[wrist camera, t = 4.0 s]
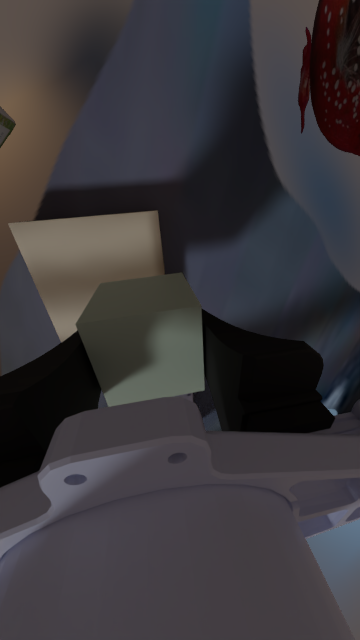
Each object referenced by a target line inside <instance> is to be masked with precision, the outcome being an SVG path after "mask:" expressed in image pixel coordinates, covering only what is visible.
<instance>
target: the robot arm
mask: <svg viewBox="0 0 360 640" xmlns="http://www.w3.org/2000/svg"><path fill="white" fill-rule="evenodd" d="M201 310H202V335H203V361H204V374H205V377H206V379H207V382H208V385H209V388H210V391H211V394H212V398H213V401H214V404H215V408H216V411H217V415H218V418H219V422H220V426H221V429H222V431H206V430H205V427H204V423H203V420H202V416H201V413H200V411H199V409H198V407H197V404H196V403H193V393H188V394H183V395H177V396H172V397H162V398H156V399H151V400H145V401H139V402H133V403H128V404H122V405H116V406H111V407H105V408H99V409H98V402H99V397H100V393H101V387H100V384H99V382H98V379H97V377H96V374H95V372H94V369H93V367H92V364H91V362H90V359H89V357H88V354H87V352H86V349H85V347H84V344H83V342H82V339H81V337H80V334H79V332H78V330H77V331H76V332H75V333H73V334H72V335H71V336H70V337H68V338H67V339H66V340H64V341H63V342H61V343H60V344H59V345H57V346H56V347H55V348H53V349H52V350H50V351H48V352H47V353H45V354H44V355H42V356H40V357H38V358H37V359H35V360H33V361H31V362H29V363H27V364H25V365H24V366H22V367H20V368H18V369H16V370H14V371H12V372H9V373H7V374H5V375H3V376H0V640H355V639H354V637H353V635H352V632H351V630H350V628H349V626H348V624H347V622H346V620H345V618H344V616H343V614H342V612H341V610H340V608H339V606H338V604H337V602H336V600H335V598H334V596H333V594H332V592H331V590H330V588H329V586H328V584H327V582H326V580H325V578H324V576H323V574H322V572H321V570H320V567H319V566H318V563H317V562H316V560H315V558H314V555H313V553H312V551H311V549H310V547H309V545H308V543H307V541H306V539H307V538H309V537H312V536H315V535H317V534H320V533H323V532H325V531H329V530H331V529H334V528H337V527H339V526H342V525H344V524H347V523H350V522H353V521H355V520H358V519H360V400H358V401H357V402H356V403H355V405H354V406H353V409H352V412H350V413H345V414H340V415H336V416H333V415H332V414H331V413H330V411H329V410H328V409H327V408H326V407H325V406H324V405H323V404H322V403H321V402H320V401H321V400H322V396H321V395H320V394H319V393H318V392H317V391H316V387H317V384H318V382H319V379H320V377H321V374H322V370H323V366H324V365H323V359H322V357H321V356H320V354H319V353H317V352H316V351H315V350H314V349H313V348H311V347H310V346H309V345H308V344H307V343H305V342H304V341H296V340H287V339H279V338H274V337H268V336H264V335H260V334H256V333H252V332H249V331H246V330H243V329H240V328H238V327H235V326H233V325H230V324H228V323H226V322H224V321H222V320H220V319H218V318H217V317H215V316H213V315H212V314H210V313H208V312H207V311H205V310H203V309H202V308H201Z"/></svg>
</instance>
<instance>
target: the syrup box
mask: <svg viewBox="0 0 360 640" xmlns="http://www.w3.org/2000/svg"><path fill="white" fill-rule="evenodd" d="M15 125H16V124H15V121H14V120H13V119H12V118H11V117H10V116H9V115H8V114H7V113H6V112H5V111H4V110H3V109H2V108H1V107H0V148H1V146H2V145H3V143H4V142H5V140H6V139H7V137H8V136H9V135H10V133H11V132H12V130H13V128H14V127H15Z"/></svg>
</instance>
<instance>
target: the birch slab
mask: <svg viewBox="0 0 360 640" xmlns="http://www.w3.org/2000/svg"><path fill="white" fill-rule="evenodd" d="M9 227H10V229H11V231H12V233H13V236H14V238H15V240H16V242H17V244H18V247H19V249H20V251H21V254H22V256H23V258H24V260H25V262H26V265H27V267H28V269H29V271H30V274H31V276H32V278H33V280H34V283H35V285H36V287H37V289H38V291H39V294H40V296H41V298H42V300H43V303H44V305H45V307H46V309H47V311H48V314H49V316H50V318H51V320H52V323H53V325H54V327H55V329H56V332H57V334H58V336H59V338H60V340H61V342H63V341H64V340H66V339H67V338H68V337H70V336H71V335H72V334H73V333H75V332H76V331H77V327H76V325H75V324H76V322H77V321H78V319H79V317H80V316H81V314H82V312H83V311H84V309H85V308H86V306H87V304H88V303H89V301H90V299H91V298H92V296H93V294H94V293H95V291H96V289H97V288H98V286H99V284H100V283H105V282H113V281H121V280H128V279H136V278H143V277H151V276H159V275H165V271H164V262H163V253H162V244H161V235H160V226H159V218H158V211H156V210H154V211H143V212H131V213H119V214H108V215H96V216H85V217H73V218H61V219H50V220H38V221H27V222H18V223H9Z"/></svg>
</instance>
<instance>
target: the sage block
mask: <svg viewBox="0 0 360 640" xmlns="http://www.w3.org/2000/svg"><path fill="white" fill-rule="evenodd" d="M75 325H76V327H77V330H78V332H79V334H80V337H81V339H82V342H83V344H84V347H85V349H86V352H87V354H88V357H89V359H90V362H91V364H92V367H93V369H94V372H95V374H96V377H97V379H98V382H99V384H100V387H101V389H102V392H103V394H104V397H105V399H106V402H107V404H108V407H111V406H116V405H122V404H128V403H133V402H139V401H145V400H151V399H156V398H162V397H172V396H177V395H183V394H188V393H193V392H199V391H204V390H205V386H204V361H203V335H202V310H201V304H200V303H199V301H198V299H197V297H196V296H195V294H194V292H193V291H192V289H191V287H190V285H189V284H188V282H187V280H186V279H185V277H184V275H183V273H182V272H181V273H174V274H166V275H159V276H151V277H143V278H136V279H128V280H121V281H113V282H105V283H100V284H99V286H98V288H97V289H96V291H95V293H94V294H93V296H92V298H91V299H90V301H89V303H88V304H87V306H86V308H85V309H84V311H83V312H82V314H81V316H80V317H79V319H78V321H77V322H76V324H75Z"/></svg>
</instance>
